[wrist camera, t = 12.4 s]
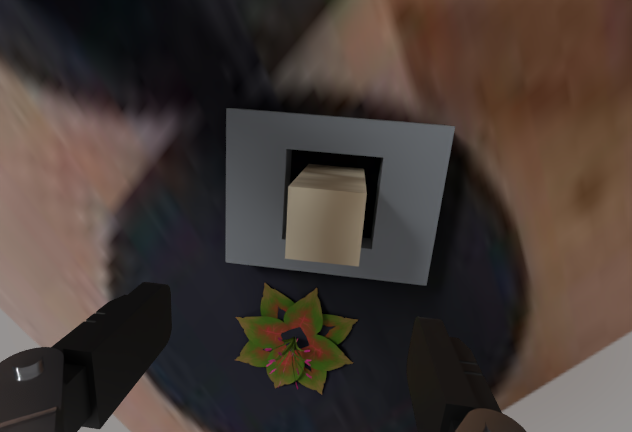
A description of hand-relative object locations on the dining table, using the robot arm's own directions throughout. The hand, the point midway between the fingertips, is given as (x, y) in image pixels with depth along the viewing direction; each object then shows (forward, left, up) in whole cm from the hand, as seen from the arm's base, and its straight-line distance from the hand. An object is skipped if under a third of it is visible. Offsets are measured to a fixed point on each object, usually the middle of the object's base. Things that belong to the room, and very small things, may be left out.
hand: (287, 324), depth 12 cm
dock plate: (0, 0, -19) cm, 19 cm away
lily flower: (-2, -14, -19) cm, 24 cm away
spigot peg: (0, 0, -19) cm, 19 cm away
